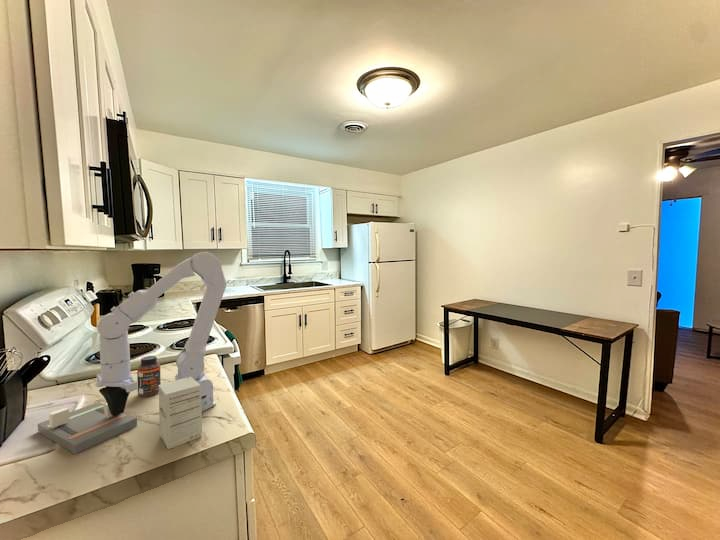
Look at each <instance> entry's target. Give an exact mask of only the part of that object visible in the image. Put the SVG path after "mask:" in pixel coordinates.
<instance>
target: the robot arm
mask: <svg viewBox="0 0 720 540" xmlns="http://www.w3.org/2000/svg"><path fill="white" fill-rule="evenodd" d="M196 274H197V275H198V276H199V277H200V279H201V280H202V281H203V283H204V285H205V286H206V288H205V291H204V293H203V296H202V299H201V301H200V302H201V303H200V305H199V309H198V311H197V313H196V317H195V318H194V322H193V325H192V327H191V331H190V334H189V335H188V339H187V341H186V342H185V344H184V347H183V349H181V351H180V352H179V353H178V354H177V356H176V359H175V365H176V367H177V374H176V375H175V376H174V381H175V380H179V379H183V378H186V377H192V378H194V379H195V380H196V381H197V382H198V383H199V384H200V385H201V406H202V412H204V411H206V410H208V409H210V408H212V407H214V406H216V405H217V402H215V401H214V385H213V382H212V381H211V380H210V379H209V378H207V377H206V374H205V373H206V372H205V362H204V359H205V355H206V350H207V349H206V348H207V342H208V340H209V337H210V334H211V332H212V328H213V325H214V323H215V319H216V318H217V317H216V316H217V314H218V311H219V308H220V306H221V303H222V299H223V296H224V294H225V290H226V289H227V282H226V278H225V275H224V272H223V266H222V263H221V262H220V260H219V259H218V258H217V256H216V255H215V254H213V253H212V252H209V251H201V252H200V251H199V252H196V253H194V254H193V255H192V256H191V257H188V258H186V259H185V260H183V261H182V262H180V263H178V264H177V265H175V266H174V267H173V268H172V269H171V270H169V271H168V272H167V273H166V274H164V275H163V277H161V278H160V279H158V281H155V283H154V284H152V286H150V287H149V288H148V289H139V290H137V291H135V292H134V291H131V292H130V293H128V295H127V297H128V298H126V299H125V300H124V301H122V302H121V303H120V304H119V305H117V306H113V307H112V308H111V309H110V311H111V312H109V313H107V314H105V315H104V316H103V317H102V318H101V319H100V320H99V321H98V323H97V327H96V329H97V332H98V334H99V335H100V336H99V342H100V344H99V361H100V362H99V364H100V373H97V374H96V382H95V384H94V385H95V387H96V388H100V389H99V390H98V391H99V393H100V394H101V396H103V399H105V401H106V403H107V404H108V407H109V410H110V412H111V415H112V416H117V415H119V414H121V413H125V408H126V405H127V401H128V398H129V396H130V393H131V392H134V391H136V390H137V391H138V381H137V380H135V379H134V377H133V375H132V374H131V372H132V371H131V355H130V354H131V352H130V351H131V350H130V340H129V329H130V325H132V324H136V323H137V322H139V320H141V318H143V317H144V316H146V315H147V314H148V313H149V312H150V311H152V310H153V309H154V308H155V307H156V306H157V304H158V303H157V302H158V301H157V300H158V298H159V297H160V296H162V295H163V294H164V293H166V292H167V291H168V290H169V289H171V288H173V286H175V285H176V284H178V283H179V282H180V281H181V280H182V279H185V278H186V279H187V278H191V277H195V276H196Z"/></svg>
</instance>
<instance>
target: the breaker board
mask: <svg viewBox="0 0 720 540" xmlns="http://www.w3.org/2000/svg"><path fill="white" fill-rule="evenodd" d="M104 404H105V403H104ZM104 404H103V403H101V402H98V401H97V402H95V403H91V404H89V405H87V406H84V407H81V408H78V409H75V410H73V411H69V420H70V422H68V423H65V424H62V425H60V426H57V427H54V428H52V427H50V421H49V419H48V420H45V421H42V422H39V423H37V432H38V431H39V432H40V433H39V432H38V433H39V434H41V433H42V434H43V436H44V435H45V436H44V437H46V438H47V439H49V440H51V441H52V440H53V442H54V441H55V442H54V443H56V444H57V443H58V444H57V445H59V446H61V447H62V448H64V449H66V450H68V451H70V452H71V453H72V454H74V455H76V454H79V453H81V452H83V451H86V450H87V449H90V448H91V447H94V446H97V445H99V444H100V443H103V442H104V441H107V440H110V439H111V438H113V437H115V436H117V435H118V436H119V435H120V434H122V433H124V432H126V431H129V430H131V429H134V428H135V427H138V418H137V417H135V416H133V415H131V414H128V413H126V412H124V413H121V414H119V415H117V416H111V417H109V418H107V417H105V413H104ZM42 434H41V435H42Z"/></svg>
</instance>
